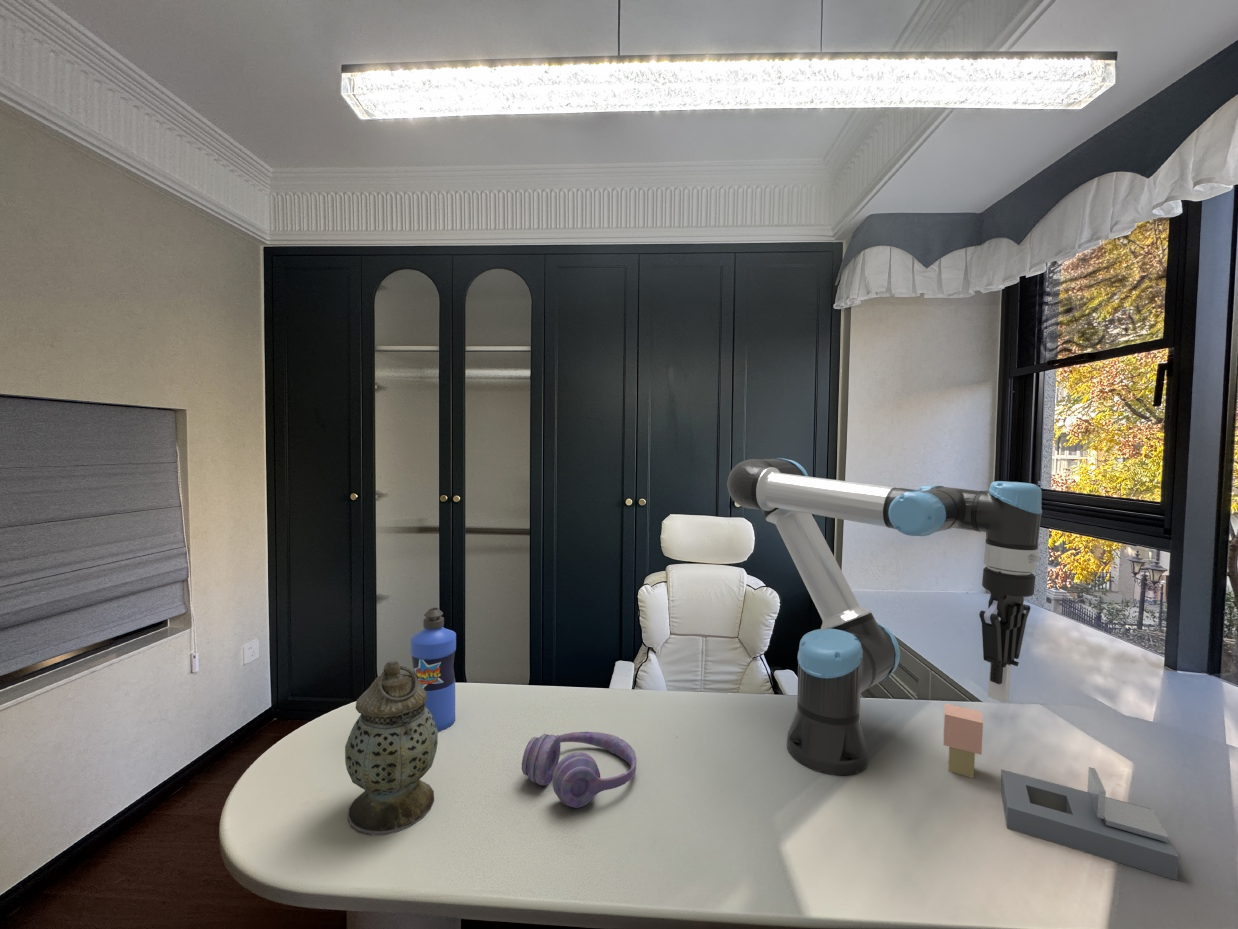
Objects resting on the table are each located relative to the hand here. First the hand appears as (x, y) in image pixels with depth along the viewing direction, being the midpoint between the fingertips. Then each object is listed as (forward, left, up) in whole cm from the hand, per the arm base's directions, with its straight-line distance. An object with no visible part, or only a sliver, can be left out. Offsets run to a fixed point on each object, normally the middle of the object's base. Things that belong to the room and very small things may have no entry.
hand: (997, 698), depth 98 cm
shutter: (+17, -5, -13) cm, 21 cm away
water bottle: (-103, -38, -17) cm, 111 cm away
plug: (-5, +4, -17) cm, 18 cm away
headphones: (-65, -36, -17) cm, 76 cm away
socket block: (+11, -5, -17) cm, 21 cm away
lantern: (-87, -60, -17) cm, 107 cm away
